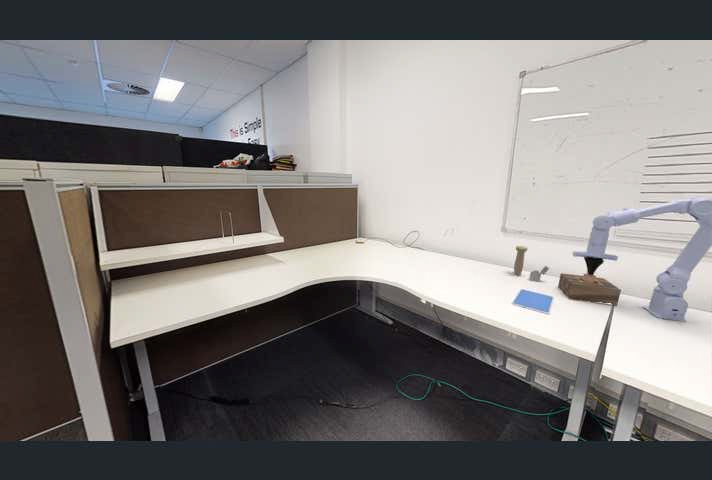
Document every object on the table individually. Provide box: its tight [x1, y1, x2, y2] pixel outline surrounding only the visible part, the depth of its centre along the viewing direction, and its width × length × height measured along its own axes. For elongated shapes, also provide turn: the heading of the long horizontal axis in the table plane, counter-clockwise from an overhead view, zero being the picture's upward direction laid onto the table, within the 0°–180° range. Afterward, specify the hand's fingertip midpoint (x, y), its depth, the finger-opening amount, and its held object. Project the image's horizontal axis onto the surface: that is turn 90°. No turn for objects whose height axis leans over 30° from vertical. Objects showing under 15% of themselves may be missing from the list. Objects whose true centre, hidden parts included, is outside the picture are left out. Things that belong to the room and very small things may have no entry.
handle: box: [513, 245, 528, 276], centre depth 138 cm, size 5×6×15 cm
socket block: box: [557, 272, 622, 307], centre depth 115 cm, size 14×16×7 cm
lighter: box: [529, 265, 550, 282], centre depth 131 cm, size 7×2×8 cm, turn 74°
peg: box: [582, 273, 597, 283], centre depth 114 cm, size 4×4×6 cm
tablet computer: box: [511, 289, 555, 315], centre depth 109 cm, size 19×13×1 cm, turn 139°
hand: (590, 274), depth 113 cm, fingers closed
